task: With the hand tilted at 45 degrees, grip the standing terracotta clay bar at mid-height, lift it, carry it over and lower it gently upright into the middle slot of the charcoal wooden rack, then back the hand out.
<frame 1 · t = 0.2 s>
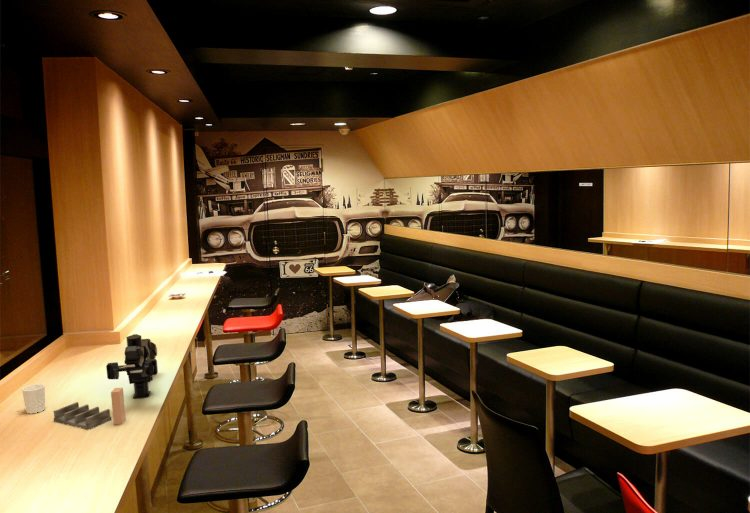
hand: (129, 376, 234), 17 cm above the worktop, tool horizontal, fingers open, 9 cm apart
rack: (82, 420, 235), on the worktop
clay bar: (119, 422, 232), on the worktop
white cup: (36, 411, 247), on the worktop
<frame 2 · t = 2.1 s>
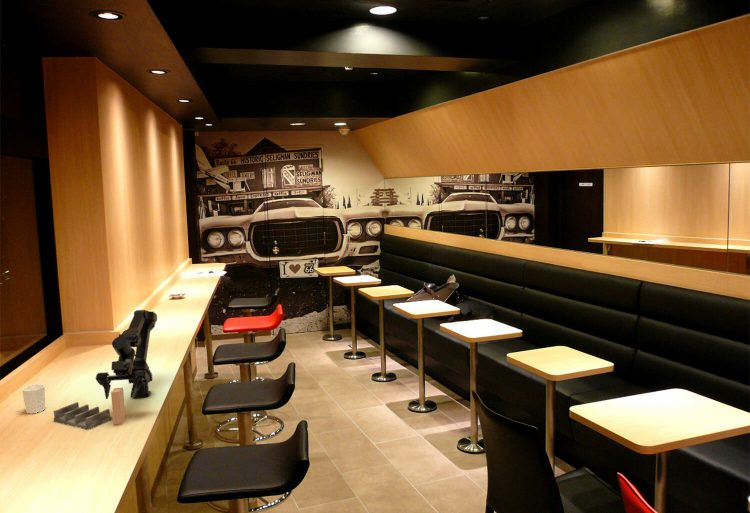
hand: (119, 397, 233), 9 cm above the worktop, tool tilted 45°, fingers open, 9 cm apart
nothing on the worktop moved.
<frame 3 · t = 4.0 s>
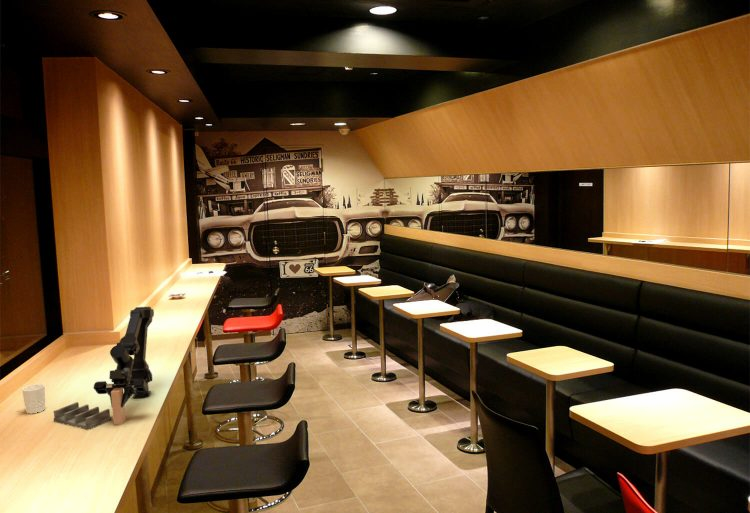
hand: (117, 407, 230), 7 cm above the worktop, tool tilted 45°, fingers closed on clay bar, 3 cm apart
clay bar: (119, 422, 232), on the worktop, touching gripper
everything else where it was.
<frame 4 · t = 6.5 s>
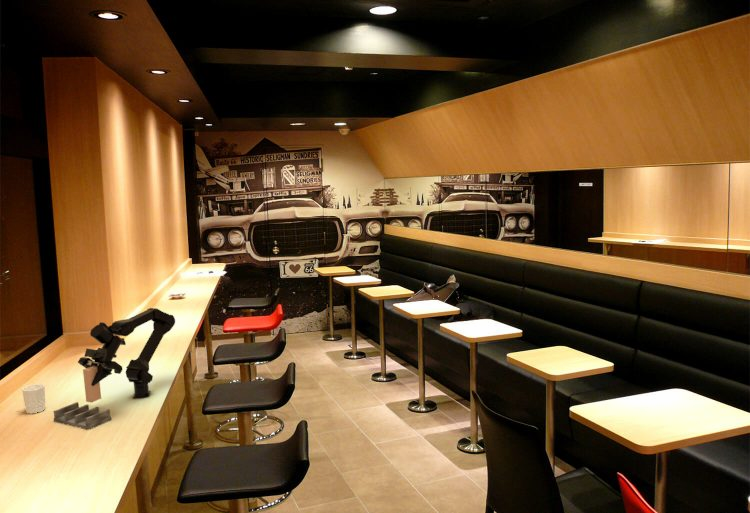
hand: (89, 385, 236), 13 cm above the worktop, tool tilted 45°, fingers closed on clay bar, 3 cm apart
clay bar: (93, 400, 238), point 7 cm above the worktop, touching gripper
everything else where it was.
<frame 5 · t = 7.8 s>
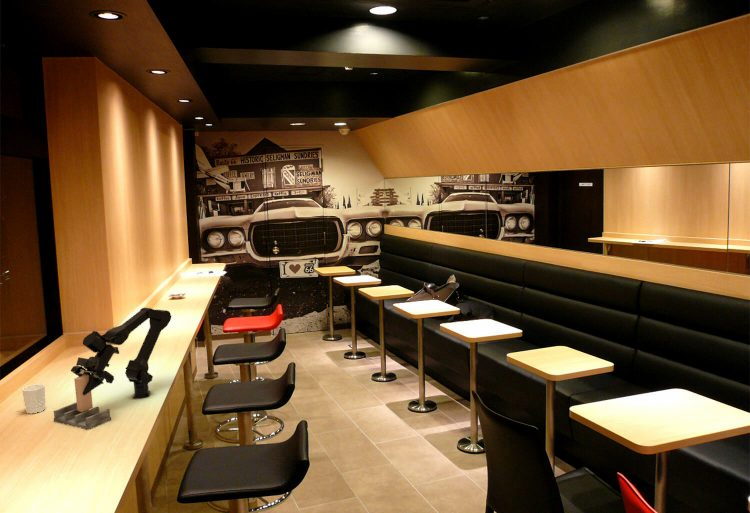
hand: (80, 394, 234), 11 cm above the worktop, tool tilted 45°, fingers closed on clay bar, 3 cm apart
clay bar: (85, 409, 236), point 4 cm above the worktop, touching gripper
everything else where it was.
when the fingers open (9 cm above the worktop, at t = 8.9 s): clay bar drops 1 cm, resting on rack.
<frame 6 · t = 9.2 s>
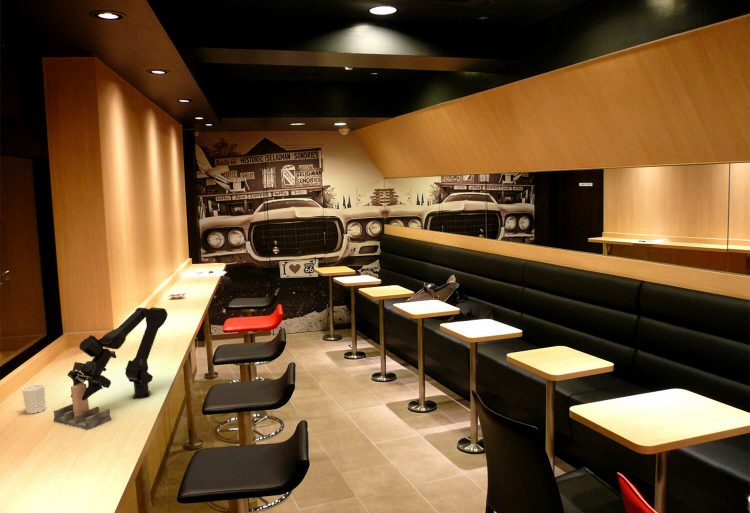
hand: (77, 398, 233), 9 cm above the worktop, tool tilted 45°, fingers open, 6 cm apart
clay bar: (82, 417, 235), point 1 cm above the worktop, touching rack
everything else where it was.
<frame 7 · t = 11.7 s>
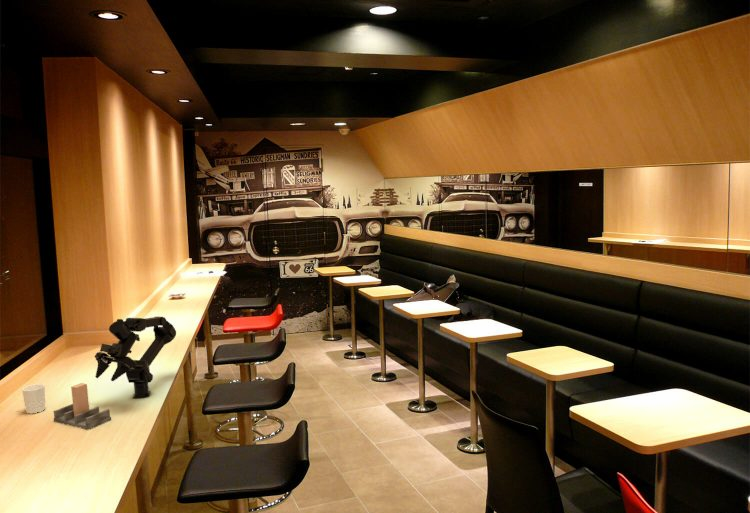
hand: (104, 379, 242), 13 cm above the worktop, tool tilted 45°, fingers open, 9 cm apart
nothing on the worktop moved.
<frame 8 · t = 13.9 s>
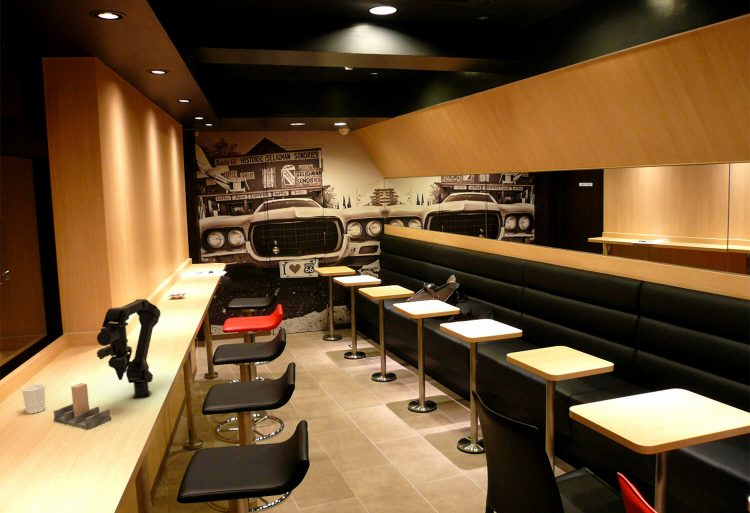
hand: (122, 376, 246), 13 cm above the worktop, tool pointing down, fingers open, 9 cm apart
nothing on the worktop moved.
at the end: clay bar 0.0 cm off-centre on the rack, point 1.2 cm above the rack's base; clay bar tilted 0°; the gripper is holding nothing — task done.
